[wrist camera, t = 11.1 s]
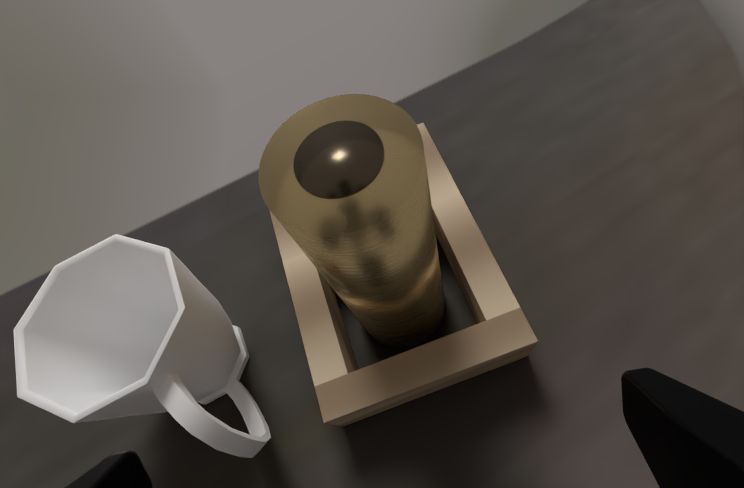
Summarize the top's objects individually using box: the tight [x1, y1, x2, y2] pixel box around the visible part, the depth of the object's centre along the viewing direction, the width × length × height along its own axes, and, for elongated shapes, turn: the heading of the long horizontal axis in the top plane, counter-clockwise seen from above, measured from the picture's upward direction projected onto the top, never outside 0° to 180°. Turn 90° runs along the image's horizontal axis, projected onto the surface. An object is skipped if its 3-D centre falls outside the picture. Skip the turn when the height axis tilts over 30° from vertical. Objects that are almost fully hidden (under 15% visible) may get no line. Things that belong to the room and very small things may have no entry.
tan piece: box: [258, 94, 445, 348], centre depth 17 cm, size 4×4×12 cm
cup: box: [14, 234, 271, 458], centre depth 19 cm, size 7×10×8 cm
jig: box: [270, 123, 538, 427], centre depth 21 cm, size 12×9×4 cm
